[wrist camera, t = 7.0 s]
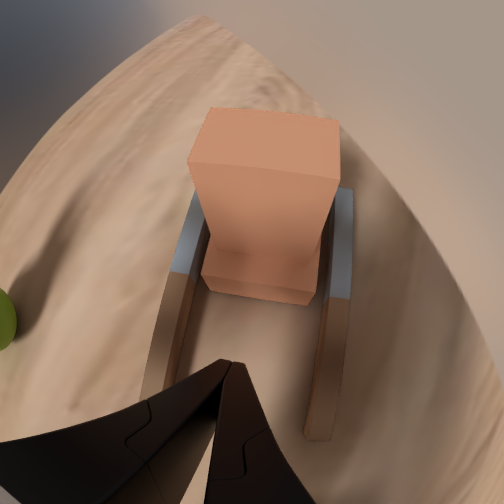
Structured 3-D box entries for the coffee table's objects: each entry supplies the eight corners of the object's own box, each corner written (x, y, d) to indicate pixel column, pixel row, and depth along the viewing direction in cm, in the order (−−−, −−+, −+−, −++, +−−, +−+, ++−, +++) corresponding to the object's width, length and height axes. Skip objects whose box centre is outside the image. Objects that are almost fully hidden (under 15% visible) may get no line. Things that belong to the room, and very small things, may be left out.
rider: (307, 305, 17) (356, 222, 8) (210, 290, 18) (158, 196, 8) (315, 220, 19) (349, 101, 10) (230, 208, 20) (209, 87, 11)
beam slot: (322, 434, 14) (330, 441, 12) (151, 402, 15) (138, 404, 13) (345, 205, 20) (352, 189, 18) (206, 186, 21) (202, 169, 19)
